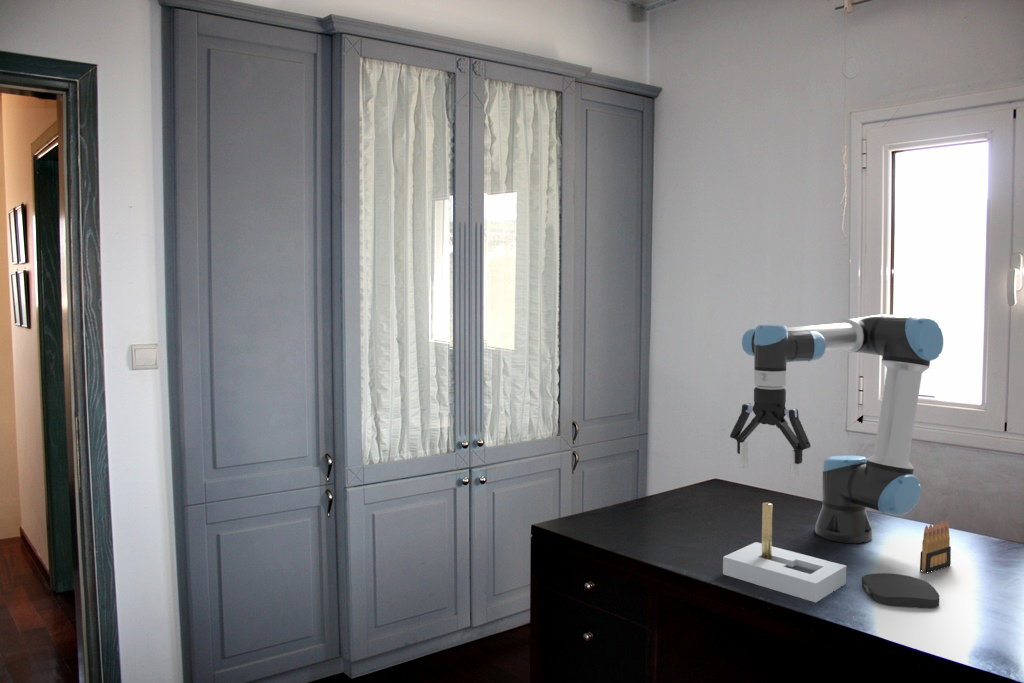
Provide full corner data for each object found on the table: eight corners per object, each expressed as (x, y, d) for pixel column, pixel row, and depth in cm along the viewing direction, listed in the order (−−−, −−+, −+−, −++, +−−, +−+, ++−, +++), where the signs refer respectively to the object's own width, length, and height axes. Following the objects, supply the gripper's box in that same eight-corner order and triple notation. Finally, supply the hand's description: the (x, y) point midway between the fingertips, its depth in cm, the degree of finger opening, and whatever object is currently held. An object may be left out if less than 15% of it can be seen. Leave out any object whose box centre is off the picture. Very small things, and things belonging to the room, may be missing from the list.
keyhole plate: (845, 583, 186) (846, 565, 185) (815, 602, 175) (816, 583, 174) (755, 558, 203) (755, 542, 203) (722, 574, 192) (723, 556, 192)
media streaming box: (944, 611, 171) (945, 598, 171) (875, 606, 173) (875, 593, 173) (921, 586, 185) (922, 573, 185) (857, 582, 188) (857, 570, 187)
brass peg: (772, 570, 195) (774, 501, 193) (778, 577, 190) (780, 506, 188) (753, 570, 195) (755, 501, 193) (759, 577, 190) (760, 506, 189)
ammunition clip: (926, 573, 192) (928, 527, 191) (919, 571, 194) (920, 525, 193) (950, 565, 197) (952, 520, 197) (943, 563, 199) (945, 518, 198)
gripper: (717, 384, 195) (716, 465, 197) (811, 393, 177) (809, 483, 179) (732, 381, 201) (731, 461, 202) (826, 390, 182) (824, 477, 184)
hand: (768, 471), depth 190 cm, fingers open, 13 cm apart
